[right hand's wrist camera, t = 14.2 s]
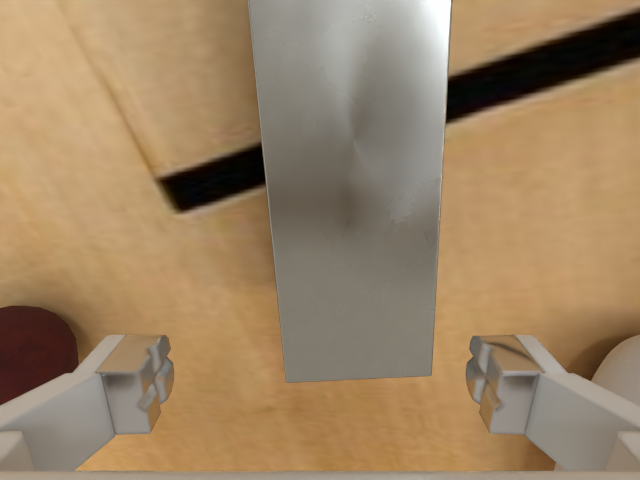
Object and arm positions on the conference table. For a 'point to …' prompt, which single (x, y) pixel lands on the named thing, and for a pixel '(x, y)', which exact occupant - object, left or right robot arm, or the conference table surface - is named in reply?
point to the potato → (33, 350)
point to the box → (353, 178)
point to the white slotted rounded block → (620, 373)
